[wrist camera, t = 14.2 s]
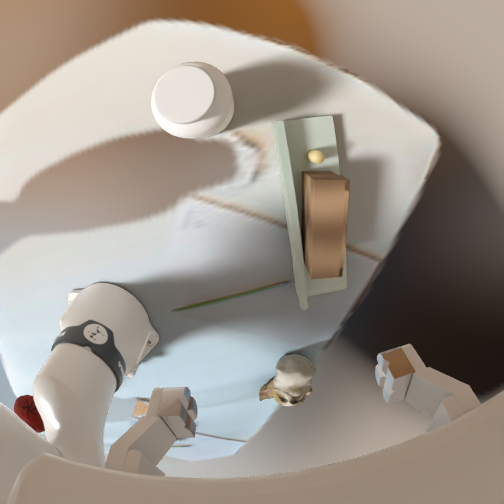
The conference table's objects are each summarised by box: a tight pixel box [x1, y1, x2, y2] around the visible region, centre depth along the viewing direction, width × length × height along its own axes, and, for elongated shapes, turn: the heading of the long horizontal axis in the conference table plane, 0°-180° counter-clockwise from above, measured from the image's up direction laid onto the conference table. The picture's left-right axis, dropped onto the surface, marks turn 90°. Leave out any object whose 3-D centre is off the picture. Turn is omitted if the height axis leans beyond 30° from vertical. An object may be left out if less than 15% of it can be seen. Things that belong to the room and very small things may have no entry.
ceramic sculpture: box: [259, 354, 316, 406], centre depth 50 cm, size 11×9×15 cm
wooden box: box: [301, 171, 349, 279], centre depth 35 cm, size 12×4×7 cm, turn 3°
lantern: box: [14, 395, 45, 433], centre depth 40 cm, size 10×10×30 cm
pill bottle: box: [151, 62, 234, 138], centre depth 27 cm, size 8×8×15 cm
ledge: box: [270, 116, 347, 310], centre depth 38 cm, size 26×8×5 cm, turn 10°
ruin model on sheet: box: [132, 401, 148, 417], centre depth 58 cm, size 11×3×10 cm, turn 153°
